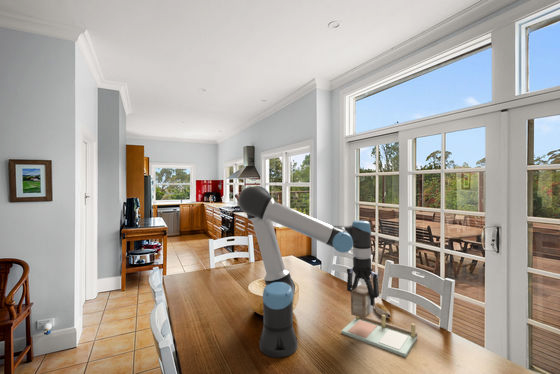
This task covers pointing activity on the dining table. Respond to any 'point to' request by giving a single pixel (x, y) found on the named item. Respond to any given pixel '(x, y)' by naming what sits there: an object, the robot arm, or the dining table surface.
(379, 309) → the stone
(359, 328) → the ledge board
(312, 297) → the dining table surface
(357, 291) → the frame block
